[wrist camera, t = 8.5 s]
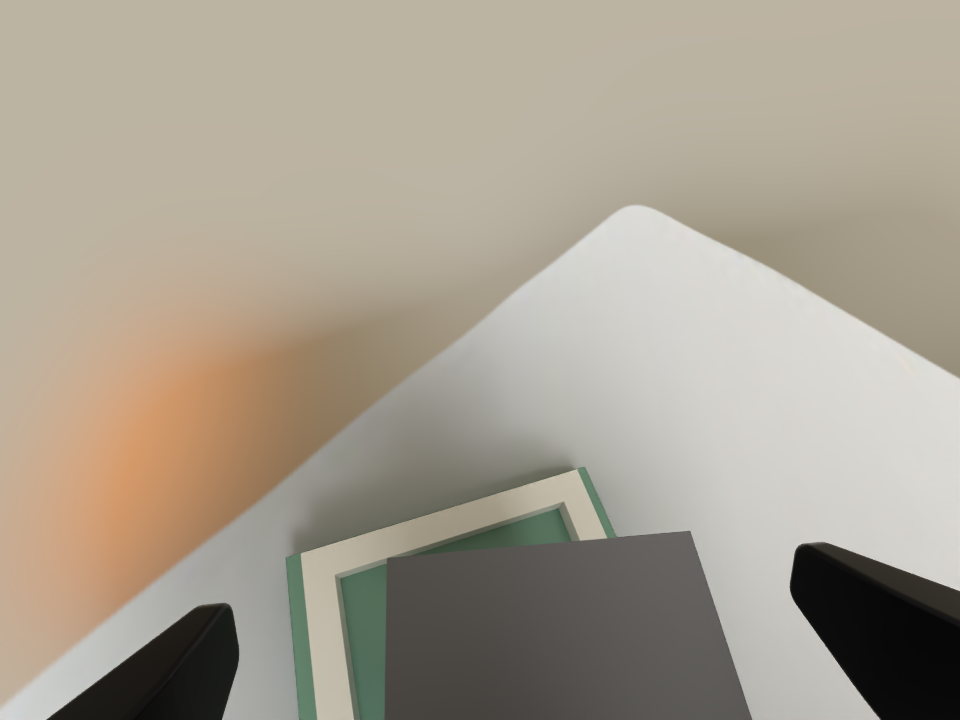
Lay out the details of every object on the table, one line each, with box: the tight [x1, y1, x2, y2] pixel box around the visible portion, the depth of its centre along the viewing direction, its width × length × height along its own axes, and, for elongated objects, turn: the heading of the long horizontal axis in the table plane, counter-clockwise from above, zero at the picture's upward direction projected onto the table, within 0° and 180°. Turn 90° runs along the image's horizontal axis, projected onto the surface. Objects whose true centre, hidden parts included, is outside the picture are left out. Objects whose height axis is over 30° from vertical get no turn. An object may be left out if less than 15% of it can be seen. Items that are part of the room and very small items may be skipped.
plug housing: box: [384, 531, 752, 720], centre depth 10 cm, size 4×4×11 cm
